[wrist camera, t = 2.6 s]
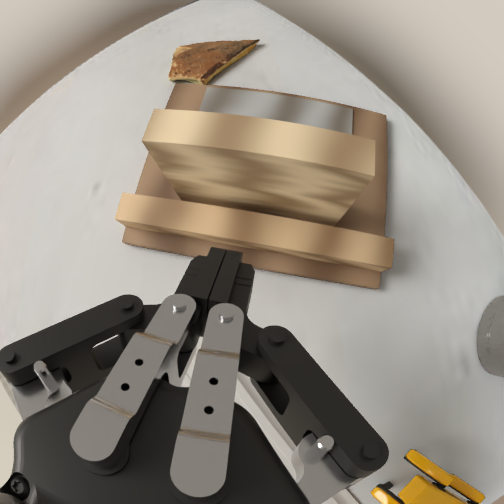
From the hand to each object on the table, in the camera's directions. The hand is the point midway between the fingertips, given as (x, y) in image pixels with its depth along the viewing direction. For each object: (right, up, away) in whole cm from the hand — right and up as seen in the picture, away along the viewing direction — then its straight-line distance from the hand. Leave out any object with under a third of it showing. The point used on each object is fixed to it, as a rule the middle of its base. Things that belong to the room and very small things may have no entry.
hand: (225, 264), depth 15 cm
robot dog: (+21, -25, +8) cm, 33 cm away
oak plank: (+2, +5, +13) cm, 14 cm away
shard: (-5, +25, +19) cm, 32 cm away
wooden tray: (+3, +8, +15) cm, 17 cm away
